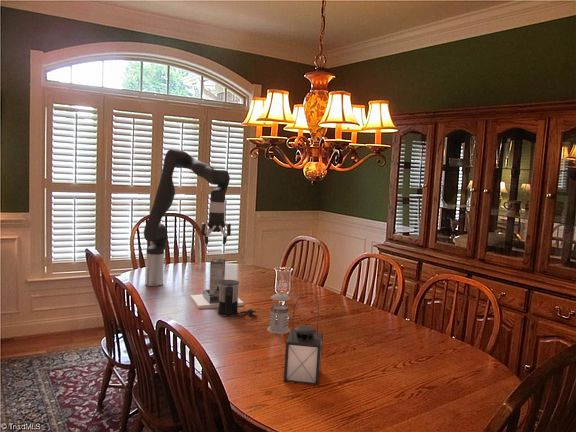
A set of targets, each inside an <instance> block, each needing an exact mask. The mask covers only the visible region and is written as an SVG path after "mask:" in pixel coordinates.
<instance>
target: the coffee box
mask: <svg viewBox="0 0 576 432" xmlns="http://www.w3.org/2000/svg"><path fill="white" fill-rule="evenodd" d="M209 265H210V267H209V269H210V270H209V272H210V273H209V289H208V290H209V295H219V287H220V283H219V281H221V280H226V279H225V277H226V275H225V274H226V258H212V259H211V261H210V264H209Z"/></svg>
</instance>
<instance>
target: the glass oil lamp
mask: <svg viewBox="0 0 576 432" xmlns="http://www.w3.org/2000/svg"><path fill="white" fill-rule="evenodd" d="M279 274H280V275H284V274H285V271H284V270H280V272H279ZM280 279H281V281H280V282H281V283H280V288H282V283H283V282H282V281H283V277H281V278H280ZM270 299H271V300H272V301H275V302H279V304H277V303H274V305H271V309H270V313H269V315H270V316H269V326H268V327H267V328H266V330H267V331H268V332H270V333H272V334H275V335H276V334H278V335H283V334H284V335H285V334H289V332H290V330H291V328H289V321H290V320H289V318H290V316H289V315H290V310H289V308H290V307H289V306H288V305H286V304H285V305H284V304H281V302H286V301H287V302H288V301H290V300H291V297H290V296H289V295H287V294H286V293H282V292H280V293H274V294H273V295H271V296H270Z"/></svg>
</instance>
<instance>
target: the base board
mask: <svg viewBox="0 0 576 432" xmlns="http://www.w3.org/2000/svg"><path fill="white" fill-rule="evenodd" d="M215 296H219V295H215ZM211 297H213V296H211ZM189 298H191V299H190V300H191V302H192V303H193V304H194V306H195V307H196V308H197V309H198V310H201V309H204V310H205V309H213V308H217V309H218V307H219V303H209V302H208V301H207V300H206V299H205V298H204V297H203V293H201V294H190V296H189ZM244 304H245V302H244V301H242V299H240V297H238V307H241V306H244Z"/></svg>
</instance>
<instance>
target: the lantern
mask: <svg viewBox="0 0 576 432" xmlns="http://www.w3.org/2000/svg"><path fill="white" fill-rule="evenodd" d="M307 294H311V295H313V296H314V297H315V298H316V301H317V303H319V301H318V298H317V295H315V294H314V293H312V292H306V293H303V294H301V295H300V296H299V298H298V299H297V300H296V302H295V304H294V307H293V314H292V325H295V324H294V321H295V319H294V318H295V309H296V305H297V303H298V301H299V299H301V297H303V296H304V295H307ZM319 308H320V307H319V304H317V316H319ZM316 325H317V326H316V329H315V328H314V327H312V326H310V325H299V326H296V327H295V328H294V329H290V332H288V337H287V340H286V341H285V351H284V353H285V354H284V367H283V368H284V370H283V371H284V372H283V383H285V382H286V383H288V382H294V383H293V384H297V383H304V384H303V385H306V384H314V385H313V386H315V385H318V386H319V384H320V374H321V368H322V367H321V366H322V365H321V363H322V348H323V336H324V334H323V332H319V331H318V330H319V329H318V328H319V322H317V324H316Z"/></svg>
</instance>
